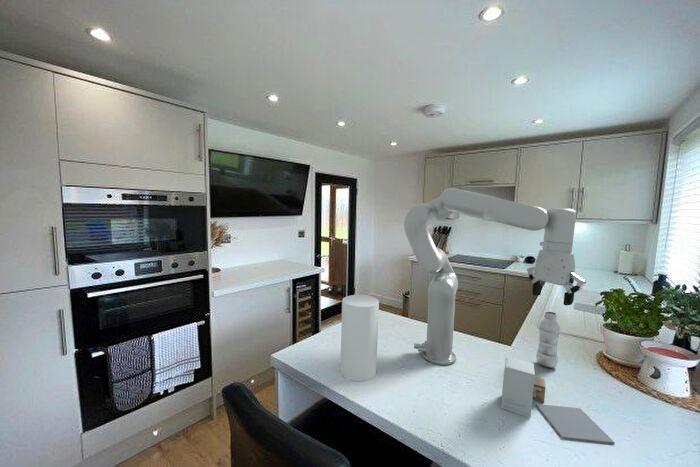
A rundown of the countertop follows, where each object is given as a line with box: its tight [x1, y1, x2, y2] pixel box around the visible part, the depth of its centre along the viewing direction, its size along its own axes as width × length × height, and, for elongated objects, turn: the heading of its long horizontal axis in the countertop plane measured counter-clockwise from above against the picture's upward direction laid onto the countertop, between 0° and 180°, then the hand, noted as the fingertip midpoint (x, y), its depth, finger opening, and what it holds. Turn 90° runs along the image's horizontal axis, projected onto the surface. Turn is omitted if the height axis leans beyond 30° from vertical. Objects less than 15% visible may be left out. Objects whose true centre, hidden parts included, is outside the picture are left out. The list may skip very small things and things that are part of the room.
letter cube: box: [532, 375, 546, 403], centre depth 87 cm, size 5×5×5 cm
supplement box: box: [500, 356, 536, 419], centre depth 81 cm, size 7×7×13 cm
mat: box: [535, 403, 615, 445], centre depth 76 cm, size 12×12×1 cm
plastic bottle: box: [535, 310, 561, 369], centre depth 104 cm, size 6×7×20 cm
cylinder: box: [339, 294, 380, 382], centre depth 97 cm, size 12×12×25 cm
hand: (551, 299), depth 91 cm, fingers open, 9 cm apart
